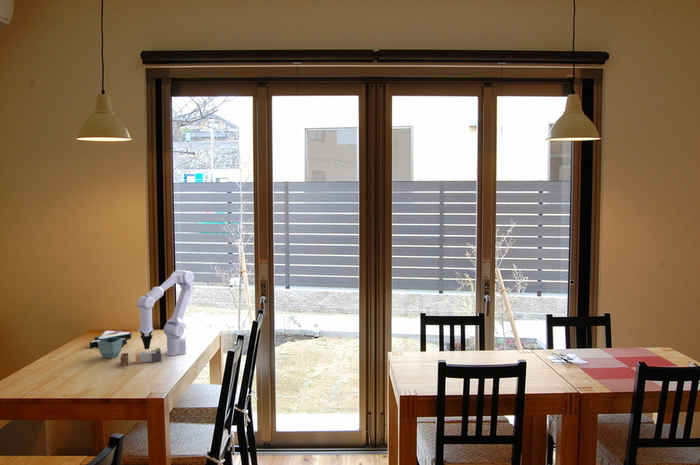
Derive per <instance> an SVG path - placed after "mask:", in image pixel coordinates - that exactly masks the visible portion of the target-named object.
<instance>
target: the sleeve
mask: <svg viewBox="0 0 700 465" xmlns="http://www.w3.org/2000/svg"><path fill="white" fill-rule="evenodd" d="M160 350H161V347H156V348H155V349H154V350H151V351H156V353H152V361H151V363H159V362H162V350H161V351H160ZM157 352H161V353H157Z"/></svg>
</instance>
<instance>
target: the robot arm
mask: <svg viewBox="0 0 700 465" xmlns="http://www.w3.org/2000/svg"><path fill="white" fill-rule="evenodd" d="M194 280H195V276H194V273H193V272H192V271H190V270H182V269H176V270H174V271H173V272H172V273H171V275H170V276H169V277H168V278H167V279H166V280H165V281H164V282H163V283H162V284H161V285H159V286H154V287H152V289H151V290H150V291H149V292H147V293H145V295H143V296H140V297H139V298H138V299H137V301H136V305H137V307H138V310H139V328H138V329H137V332H140V338H141V340H142V343H143V348H144V350H150V348H151V347H150V346H151V341H152V338H153V337H154V335H153V334H152V333H153V330H154V328H153V307H154V306H155V304H156V302H157V301H158V300H159V299H161V298H162V297H163V296H164V295H165V294H164V293H165V291H167V290H168V289H170V287H171V288H172V286H174V285H175V284H177V285H179V287H180V289H181V290H180V292H179V295H178V298H177V302H176V304H175V307H174V311H173V313H172V316H171V317H170V318H169V319H168V320H167V322H166V323H165V325H164V327H163V333H164V334H165V336H166V349H167V350H165V353H166V356H169V357H170V356H176V355H185V354H187V345H186V344H187V343H186V336H185V335H184V332H185V322H184V320H183V319H184V316H185V313H186V310H187V306H188V304H189V301H190V298H191V295H192V292H193V289H194V285H193V284H194Z"/></svg>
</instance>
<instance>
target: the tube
mask: <svg viewBox="0 0 700 465" xmlns="http://www.w3.org/2000/svg"><path fill="white" fill-rule="evenodd" d="M160 351H161V352H157V353H161V354H162V350H161V349H160ZM152 353H156V351H152V350H150V351H143V352H142V351H140V352H135V354H134V355H135V359H134V360H135V364H140V363H149V362H150V363H151V362H152Z"/></svg>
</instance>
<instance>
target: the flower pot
mask: <svg viewBox="0 0 700 465" xmlns="http://www.w3.org/2000/svg"><path fill="white" fill-rule="evenodd" d="M122 340H123V338H112V337H108V338H105V339H103V340H101V341H98V347H97V348H98V351H99V353H100V355H101V357H102V358H105V359H114V358H115V357H118V356H119V354H121V350H122Z"/></svg>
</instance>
